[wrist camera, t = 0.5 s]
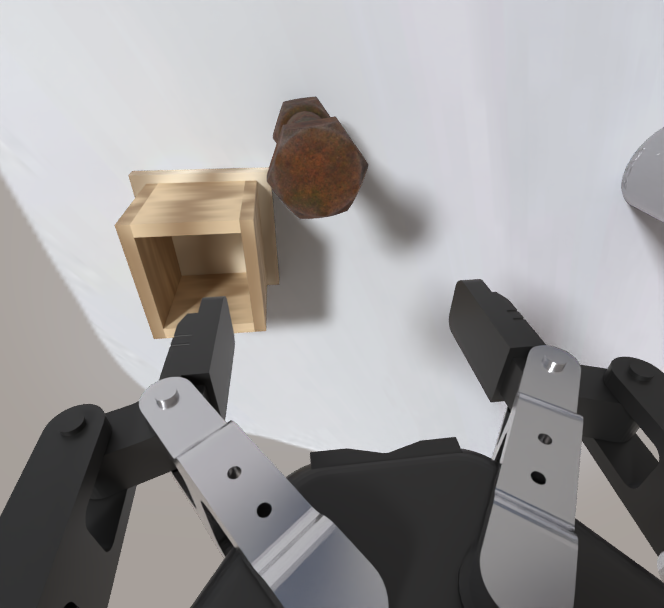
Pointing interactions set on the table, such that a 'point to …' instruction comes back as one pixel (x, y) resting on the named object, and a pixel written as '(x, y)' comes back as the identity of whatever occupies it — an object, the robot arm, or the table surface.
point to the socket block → (201, 244)
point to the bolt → (314, 161)
